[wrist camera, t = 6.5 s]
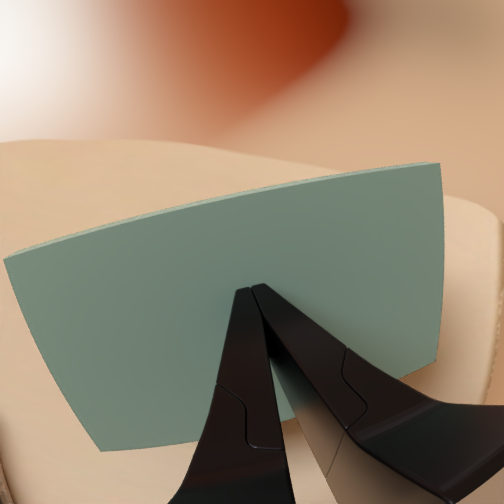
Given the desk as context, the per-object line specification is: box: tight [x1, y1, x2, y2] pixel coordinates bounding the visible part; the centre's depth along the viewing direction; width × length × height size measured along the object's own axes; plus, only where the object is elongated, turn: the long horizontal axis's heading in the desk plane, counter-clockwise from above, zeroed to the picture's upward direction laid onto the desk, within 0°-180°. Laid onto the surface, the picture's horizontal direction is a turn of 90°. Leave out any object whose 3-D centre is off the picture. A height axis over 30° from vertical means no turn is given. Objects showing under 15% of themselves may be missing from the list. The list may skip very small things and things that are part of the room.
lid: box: [3, 162, 444, 452], centre depth 10 cm, size 8×14×1 cm, turn 103°
